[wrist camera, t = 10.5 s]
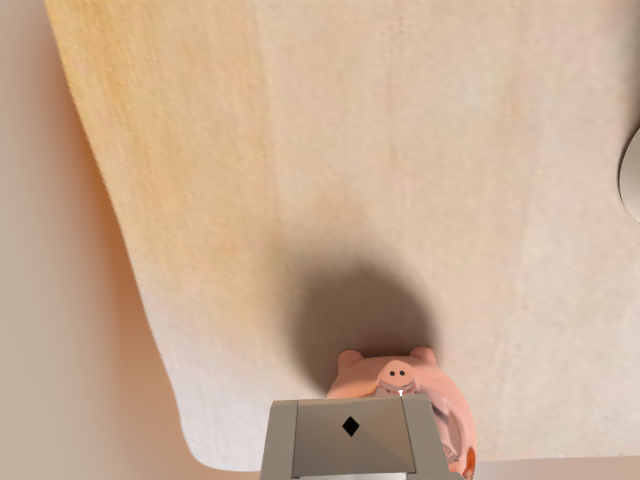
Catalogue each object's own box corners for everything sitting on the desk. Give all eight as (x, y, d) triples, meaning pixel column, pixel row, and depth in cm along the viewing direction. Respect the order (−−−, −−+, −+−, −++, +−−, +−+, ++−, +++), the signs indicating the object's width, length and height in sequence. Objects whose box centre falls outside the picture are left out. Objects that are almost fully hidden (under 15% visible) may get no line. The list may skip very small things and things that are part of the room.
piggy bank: (458, 312, 45) (519, 444, 31) (447, 430, 53) (491, 578, 39) (314, 318, 46) (307, 451, 32) (324, 434, 54) (323, 581, 40)
